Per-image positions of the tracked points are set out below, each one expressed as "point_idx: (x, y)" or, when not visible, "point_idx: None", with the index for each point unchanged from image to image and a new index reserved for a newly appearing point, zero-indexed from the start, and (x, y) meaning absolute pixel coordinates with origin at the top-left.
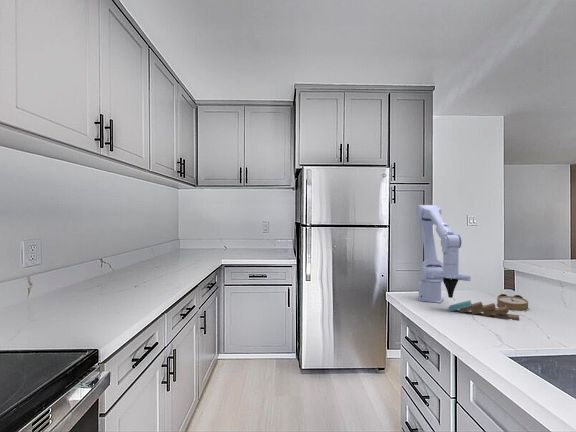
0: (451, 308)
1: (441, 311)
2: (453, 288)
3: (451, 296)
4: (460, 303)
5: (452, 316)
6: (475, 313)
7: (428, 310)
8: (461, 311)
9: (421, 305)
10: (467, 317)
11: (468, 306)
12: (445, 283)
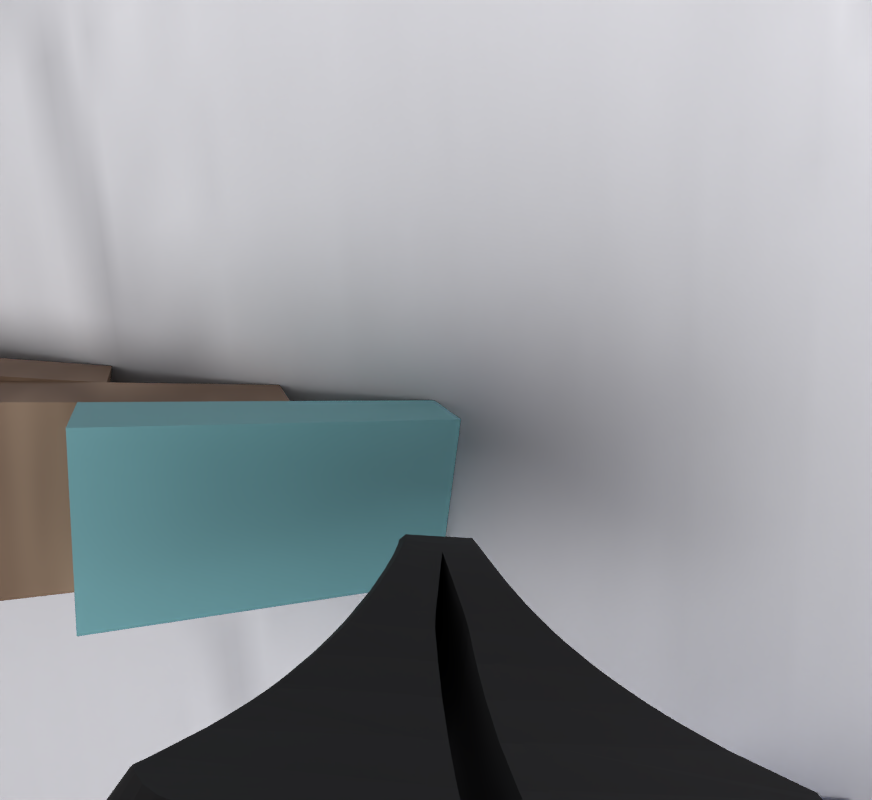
0: (413, 412)
1: (554, 345)
2: (338, 648)
3: (413, 541)
4: (262, 525)
5: (380, 83)
6: (59, 364)
7: (744, 316)
8: (265, 389)
9: (830, 575)
10: (156, 133)
11: (113, 403)
12: (689, 762)
